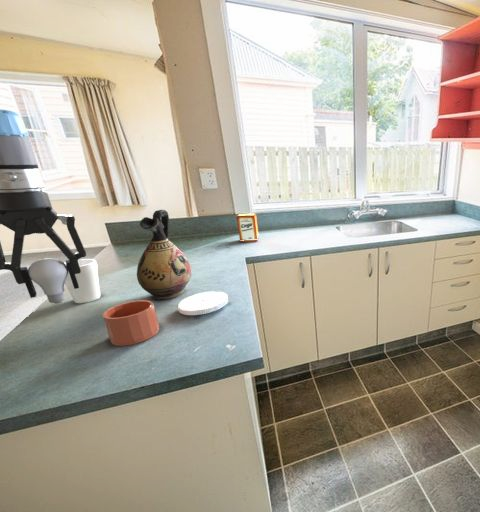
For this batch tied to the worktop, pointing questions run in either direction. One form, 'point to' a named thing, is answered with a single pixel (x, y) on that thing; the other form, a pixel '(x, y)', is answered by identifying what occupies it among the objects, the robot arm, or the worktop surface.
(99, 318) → the worktop surface
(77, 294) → the foam cup
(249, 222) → the baking soda box
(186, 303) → the plastic lid
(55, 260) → the lightbulb
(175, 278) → the ceramic jug
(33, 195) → the robot arm
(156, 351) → the worktop surface
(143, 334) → the holder
